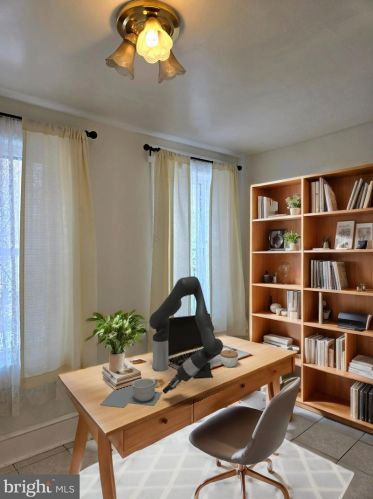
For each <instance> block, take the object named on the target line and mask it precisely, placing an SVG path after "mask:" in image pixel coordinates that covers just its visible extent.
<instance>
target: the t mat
mask: <svg viewBox="0 0 373 499" xmlns="http://www.w3.org/2000/svg"><path fill="white" fill-rule="evenodd" d="M130 385H131V386H128V387H125V388H122V389H119V390H114V389H113V390H112V391H110V392H111V393H109V394H108V395H107V396H106V398H104V399H103V401H102V402H101V403H100V404H99V406H106V407H107V406H108V407H114V408H120V409H121V408H122V409H123V408H125V407H126V406H127V405H128V404H132V405H133V404H134V405H143V406H152V407H155V405H156V404H157V403H158V401H159V399H160V397H161V396H162V394H163V391H161V392H160V391H155V394H154V396H153V397H152V398H151V399H150V400H148V401H138V400H137V399H136V398H135V397H134V395H133V385H132V384H130Z"/></svg>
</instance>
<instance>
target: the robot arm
mask: <svg viewBox="0 0 373 499" xmlns="http://www.w3.org/2000/svg"><path fill="white" fill-rule="evenodd" d="M188 296H193V297H194V298H195V304H196V306H195V313H194V319H195V320H194V321H195V322H196V325H197V328H198V330H199V333H200V337H201V343H202V348H201V349H198V350H197V351H195V352H194V353H193V354H192V355H191V356H190V357H188V358H187V359H186V360H185V361H184V362H182V363H181V365H179V366H178V367H177V369H176V374H175V375H174V376H173V378H171V380H170V381H169V383H167V385H166V386H165V387H164V388H163V389H162V393H164V394H165V395H166V394H167V393H169V391H173V390H174V389H176V388H177V386H179V385H180V384H182V381H184V382H188V381H190V380H191V379H192V378H193V376H194V375H195V374H196V373H197V372H198V371H199V370H200V369H201V368H202V367H203V366H204V365H205V364H206V363H207V362H210V361H211V360H213V359H214V358H215V357H217V356H218V355H220V354H221V352H222V351H223V349H224V342H223V341H222V340H221V339H219V338H216V336H215V333H214V331H215V327H214V324H213V321H212V319H211V317H210V315H209V312H208V308H207V305H206V301H205V297H204V296H205V295H204V293H203V289H202V285H201V282H200V280H199V278H198V277H197V276H195V275H193V276H185V277H180V278H178V280H177V281H176V283H175V285H174V287H173V289H172V290H171V292H170V293H169V294H168V296H167V297H165V299H164V301H163V302H162V304H160V306H159V307H158V309H156V310H155V311H154V312H153V313H152V314H151V315H150V318H149V320H148V321H149V326H150V328H151V329H153V330H158V331H157V332H156V333H154V334H153V335H152V370H154V371H155V372H156V371H157V372H163V371H167V370H168V369H169V335H170V334H169V333H170V317H172V316H174V315H175V314H177V312H178V311H179V310H180V309H181V307H182V299H183V298H184V297H188Z"/></svg>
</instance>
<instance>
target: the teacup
mask: <svg viewBox="0 0 373 499" xmlns="http://www.w3.org/2000/svg"><path fill="white" fill-rule="evenodd" d="M158 383H159V380H158V378H156V377H153V378H149V377H148V378H147V377H146V378H145V377H143V378H138V379H135V380H134V381H133V382H132V384H131V385H133V395H134V397H135V398H136V399H137V400H138V401H148V400H150V399H151V398H152V397H153V396H154V394H155V392H156V387H157V386H158Z"/></svg>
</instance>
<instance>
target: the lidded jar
mask: <svg viewBox="0 0 373 499" xmlns="http://www.w3.org/2000/svg"><path fill="white" fill-rule="evenodd" d="M238 360H239V352H238V351H236V350H231V349H224V350H222V351H221V352H220V361H221V363H222V365H223V366H224V367H225V368H234V367H235V366H236V365H237V363H238Z"/></svg>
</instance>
